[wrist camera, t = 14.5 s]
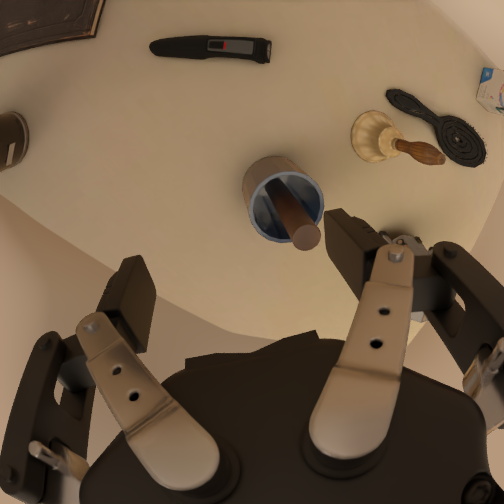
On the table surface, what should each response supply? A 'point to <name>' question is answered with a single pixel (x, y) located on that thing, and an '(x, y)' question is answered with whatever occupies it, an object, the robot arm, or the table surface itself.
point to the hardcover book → (46, 22)
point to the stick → (293, 216)
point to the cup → (261, 205)
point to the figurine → (417, 249)
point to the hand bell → (388, 141)
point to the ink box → (492, 91)
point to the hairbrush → (444, 130)
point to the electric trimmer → (213, 47)
